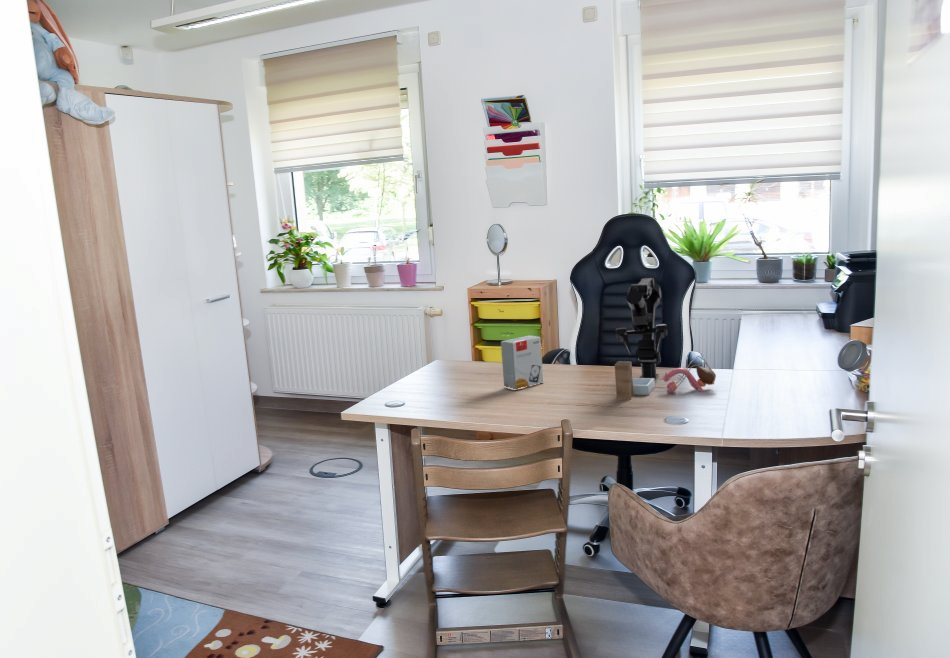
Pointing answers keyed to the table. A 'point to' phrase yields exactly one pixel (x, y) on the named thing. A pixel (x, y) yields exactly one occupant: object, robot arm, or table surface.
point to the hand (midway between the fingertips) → (643, 353)
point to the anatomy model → (691, 377)
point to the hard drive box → (522, 361)
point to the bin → (643, 385)
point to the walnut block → (624, 380)
